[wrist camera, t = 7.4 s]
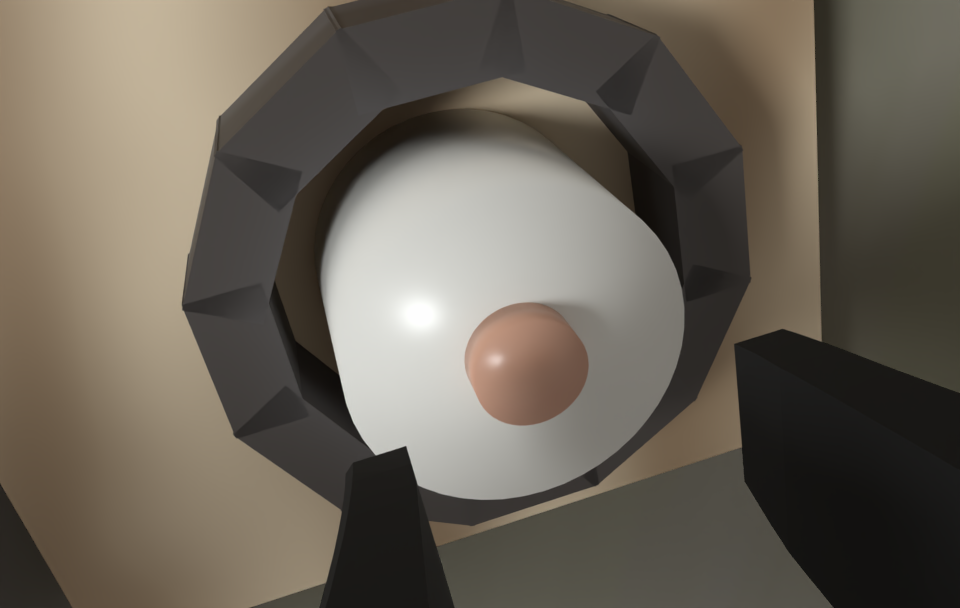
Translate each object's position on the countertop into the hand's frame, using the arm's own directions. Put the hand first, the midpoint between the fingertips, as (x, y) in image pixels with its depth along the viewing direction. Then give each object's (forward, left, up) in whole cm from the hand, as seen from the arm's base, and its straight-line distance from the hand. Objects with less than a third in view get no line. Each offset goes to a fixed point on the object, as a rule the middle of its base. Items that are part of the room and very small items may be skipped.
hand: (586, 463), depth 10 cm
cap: (0, 0, -7) cm, 7 cm away
